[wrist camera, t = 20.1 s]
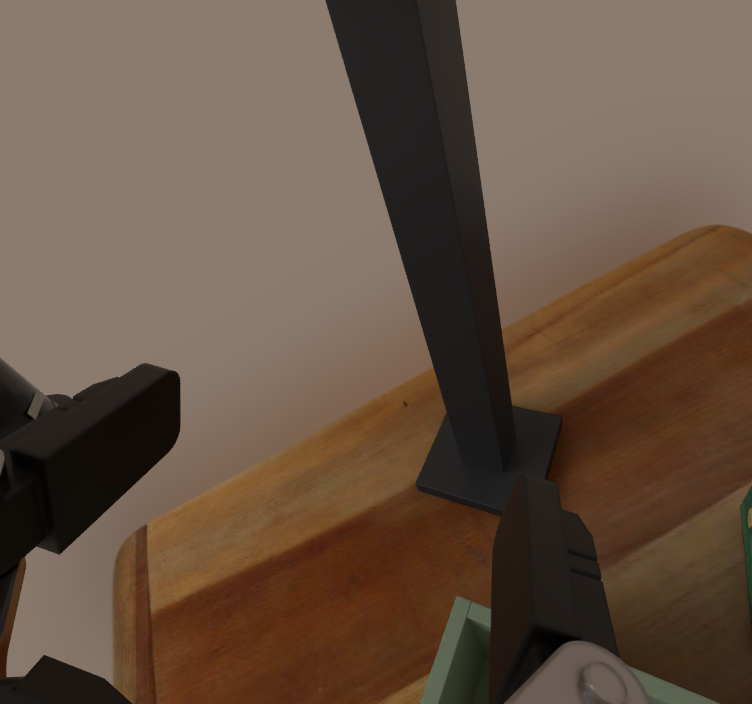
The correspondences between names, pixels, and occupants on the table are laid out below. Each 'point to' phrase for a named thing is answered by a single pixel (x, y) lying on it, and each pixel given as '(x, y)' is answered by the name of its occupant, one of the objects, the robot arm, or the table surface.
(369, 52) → the stand
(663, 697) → the bin
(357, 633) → the table surface
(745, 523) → the coffee box
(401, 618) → the table surface
